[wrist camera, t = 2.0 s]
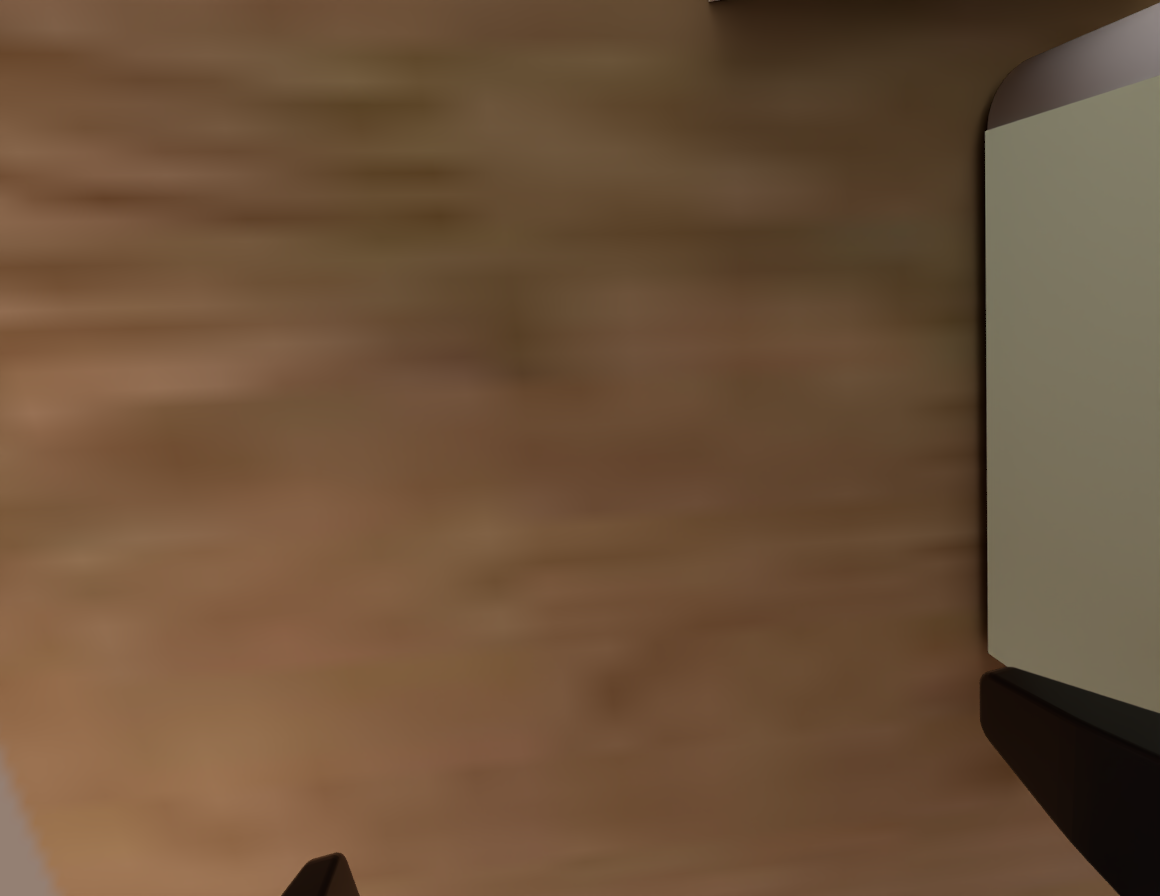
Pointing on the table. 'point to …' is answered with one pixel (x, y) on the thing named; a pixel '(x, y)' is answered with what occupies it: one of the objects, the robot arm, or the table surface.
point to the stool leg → (1076, 363)
